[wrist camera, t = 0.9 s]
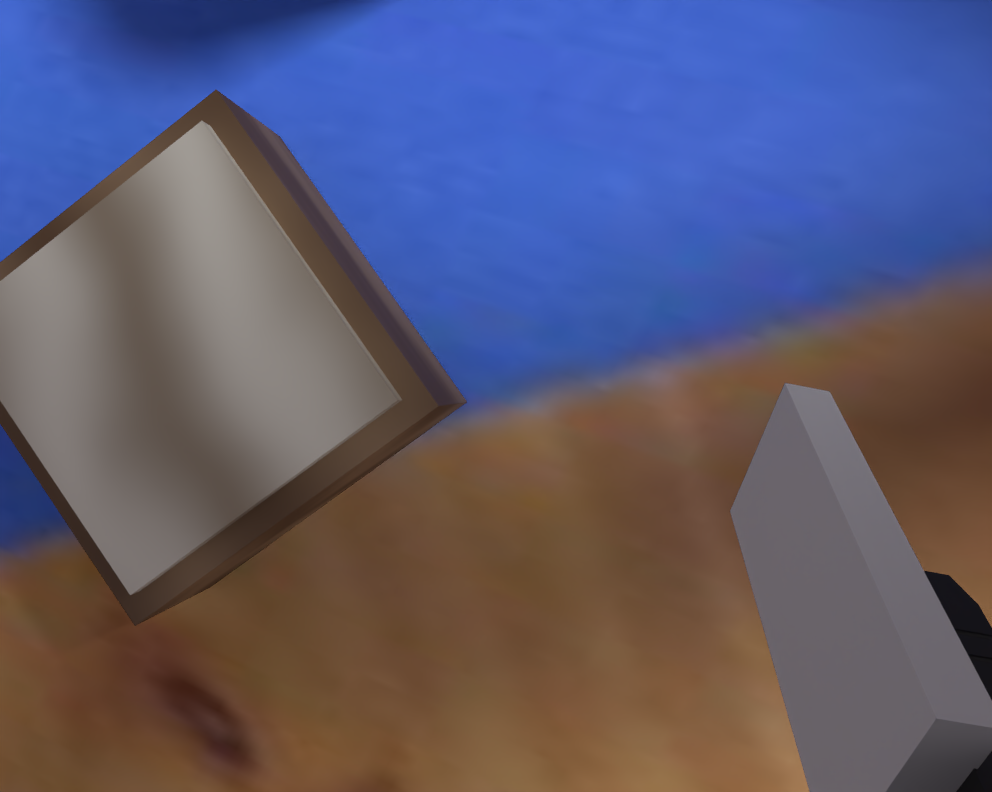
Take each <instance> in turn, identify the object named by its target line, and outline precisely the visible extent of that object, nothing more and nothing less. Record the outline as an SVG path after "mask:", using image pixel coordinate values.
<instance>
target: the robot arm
mask: <svg viewBox="0 0 992 792" xmlns="http://www.w3.org/2000/svg"><path fill="white" fill-rule="evenodd" d="M730 513H731V516H732V520H733V523H734V527H735V530H736V534H737V537H738V541H739V544H740V548H741V551H742V555H743V558H744V562H745V566H746V569H747V573H748V576H749V580H750V583H751V587H752V590H753V594H754V597H755V601H756V604H757V608H758V611H759V615H760V618H761V622H762V625H763V629H764V632H765V636H766V639H767V643H768V646H769V650H770V653H771V657H772V661H773V664H774V668H775V671H776V675H777V678H778V682H779V685H780V689H781V692H782V696H783V699H784V703H785V706H786V710H787V713H788V717H789V720H790V724H791V727H792V731H793V734H794V738H795V741H796V745H797V748H798V752H799V755H800V759H801V763H802V766H803V770H804V773H805V777H806V780H807V784H808V787H809V791H810V792H992V628H991V626H990V624H989V622H988V621H987V619H986V617H985V615H984V614H983V612H982V610H981V608H980V607H979V605H978V604H977V603H976V602H975V601H974V600H973V599H972V598H971V597H970V596H969V595H968V594H967V593H966V592H965V591H964V590H963V589H962V588H961V587H960V586H959V585H958V584H957V583H956V582H955V581H954V580H953V579H952V578H951V577H950V576H949V575H944V574H939V573H933V572H928V571H924V570H923V569H922V567H921V565H920V563H919V561H918V559H917V557H916V555H915V553H914V551H913V549H912V548H911V546H910V544H909V542H908V540H907V538H906V536H905V534H904V532H903V530H902V529H901V527H900V525H899V523H898V521H897V519H896V517H895V515H894V513H893V511H892V509H891V508H890V506H889V504H888V502H887V500H886V498H885V496H884V494H883V492H882V490H881V488H880V487H879V485H878V483H877V481H876V479H875V477H874V475H873V473H872V471H871V469H870V468H869V466H868V464H867V462H866V460H865V458H864V456H863V454H862V452H861V450H860V448H859V447H858V445H857V443H856V441H855V439H854V437H853V435H852V433H851V431H850V429H849V427H848V426H847V424H846V422H845V420H844V418H843V416H842V414H841V412H840V410H839V408H838V407H837V405H836V403H835V401H834V399H833V397H832V395H831V393H830V391H825V390H820V389H814V388H809V387H804V386H799V385H793V384H788V383H785V384H784V386H783V389H782V391H781V393H780V396H779V398H778V400H777V403H776V405H775V407H774V410H773V412H772V414H771V417H770V419H769V421H768V424H767V426H766V428H765V431H764V433H763V435H762V438H761V440H760V442H759V445H758V447H757V449H756V452H755V454H754V456H753V459H752V461H751V463H750V466H749V468H748V470H747V473H746V475H745V477H744V480H743V482H742V484H741V487H740V489H739V491H738V494H737V496H736V499H735V501H734V503H733V506H732V508H731V510H730Z"/></svg>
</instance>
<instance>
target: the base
mask: <svg viewBox="0 0 992 792" xmlns="http://www.w3.org/2000/svg"><path fill="white" fill-rule="evenodd" d="M466 402H467V401H466V400H465V398H464V397H463V396H462V394H461V393H460V391H459V390H458V388H457V387H456V386H455V384H454V383H453V381H452V380H451V379H450V377H449V376H448V374H447V373H446V371H445V370H444V369H443V367H442V366H441V364H440V363H439V362H438V360H437V359H436V357H435V356H434V354H433V353H432V352H431V350H430V349H429V347H428V346H427V345H426V343H425V342H424V340H423V339H422V337H421V336H420V335H419V333H418V332H417V330H416V329H415V328H414V326H413V325H412V323H411V322H410V320H409V319H408V318H407V316H406V315H405V313H404V312H403V310H402V309H401V308H400V306H399V305H398V303H397V302H396V301H395V299H394V298H393V296H392V295H391V293H390V292H389V291H388V289H387V288H386V286H385V285H384V284H383V282H382V281H381V279H380V278H379V276H378V275H377V274H376V272H375V271H374V269H373V268H372V267H371V265H370V264H369V262H368V261H367V259H366V258H365V257H364V255H363V254H362V252H361V251H360V250H359V248H358V247H357V245H356V244H355V242H354V241H353V240H352V238H351V237H350V235H349V234H348V233H347V231H346V230H345V228H344V227H343V225H342V224H341V223H340V221H339V220H338V218H337V217H336V216H335V214H334V213H333V211H332V210H331V208H330V207H329V206H328V204H327V203H326V201H325V200H324V199H323V197H322V196H321V194H320V193H319V191H318V190H317V189H316V187H315V186H314V184H313V183H312V182H311V180H310V179H309V177H308V176H307V174H306V173H305V172H304V170H303V169H302V167H301V166H300V165H299V163H298V162H297V160H296V159H295V157H294V156H293V155H292V153H291V152H290V150H289V149H288V148H287V146H286V145H285V143H284V142H283V140H282V139H281V138H280V136H278V135H277V134H276V133H274V132H273V131H272V130H270V129H269V128H268V127H266V126H265V125H263V124H262V123H261V122H259V121H258V120H257V119H255V118H254V117H253V116H251V115H250V114H249V113H247V112H246V111H244V110H243V109H242V108H240V107H239V106H238V105H236V104H235V103H234V102H232V101H231V100H230V99H228V98H227V97H226V96H224V95H223V94H221V93H220V92H219V91H217V90H215V91H214V92H212V93H211V94H210V95H209V96H207V97H206V98H205V99H204V100H202V101H201V102H200V103H199V104H197V105H196V106H195V107H194V108H192V109H191V110H190V111H189V112H187V113H186V114H185V115H184V116H182V117H181V118H180V119H179V120H177V121H176V122H175V123H174V124H172V125H171V126H170V127H169V128H167V129H166V130H165V131H164V132H162V133H161V134H160V135H159V136H157V137H156V138H155V139H154V140H152V141H151V142H150V143H149V144H147V145H146V146H145V147H144V148H142V149H141V150H140V151H139V152H137V153H136V154H135V155H134V156H132V157H131V158H130V159H129V160H127V161H126V162H125V163H124V164H122V165H121V166H120V167H119V168H117V169H116V170H115V171H114V172H112V173H111V174H110V175H109V176H107V177H106V178H105V179H104V180H102V181H101V182H100V183H99V184H97V185H96V186H95V187H94V188H92V189H91V190H90V191H89V192H87V193H86V194H85V195H84V196H82V197H81V198H80V199H79V200H78V201H76V202H75V203H74V204H73V205H71V206H70V207H69V208H68V209H66V210H65V211H64V212H63V213H61V214H60V215H59V216H58V217H56V218H55V219H54V220H53V221H51V222H50V223H49V224H48V225H46V226H45V227H44V228H43V229H41V230H40V231H39V232H38V233H36V234H35V235H34V236H33V237H31V238H30V239H29V240H28V241H26V242H25V243H24V244H23V245H21V246H20V247H19V248H18V249H16V250H15V251H14V252H13V253H11V254H10V255H9V256H8V257H6V258H5V259H4V260H3V261H1V262H0V424H1V426H2V427H3V429H4V430H5V432H6V433H7V435H8V436H9V438H10V439H11V441H12V442H13V444H14V445H15V447H16V448H17V450H18V451H19V453H20V454H21V456H22V457H23V459H24V460H25V462H26V463H27V465H28V466H29V468H30V469H31V471H32V472H33V474H34V475H35V477H36V478H37V480H38V481H39V483H40V484H41V486H42V487H43V489H44V490H45V492H46V493H47V495H48V496H49V498H50V499H51V501H52V502H53V504H54V505H55V507H56V508H57V510H58V511H59V513H60V514H61V516H62V517H63V519H64V520H65V522H66V523H67V525H68V526H69V528H70V529H71V531H72V532H73V534H74V535H75V537H76V538H77V540H78V541H79V543H80V544H81V546H82V547H83V549H84V550H85V552H86V553H87V555H88V556H89V558H90V559H91V561H92V562H93V564H94V565H95V567H96V568H97V570H98V571H99V573H100V574H101V576H102V577H103V579H104V580H105V582H106V583H107V585H108V586H109V588H110V589H111V591H112V592H113V594H114V595H115V597H116V598H117V600H118V601H119V603H120V604H121V606H122V607H123V609H124V610H125V612H126V613H127V615H128V616H129V618H130V619H131V621H132V622H133V624H134V625H135V626H136V625H137V624H139V623H141V622H143V621H145V620H147V619H149V618H151V617H153V616H155V615H157V614H159V613H161V612H163V611H165V610H167V609H169V608H171V607H173V606H175V605H176V604H178V603H180V602H182V601H184V600H186V599H188V598H190V597H192V596H194V595H196V594H198V593H200V592H202V591H204V590H206V589H208V588H210V587H211V586H213V585H214V584H215V583H217V582H218V581H219V580H221V579H222V578H224V577H225V576H226V575H228V574H229V573H231V572H232V571H233V570H235V569H236V568H237V567H239V566H240V565H242V564H243V563H244V562H246V561H247V560H249V559H250V558H251V557H253V556H254V555H256V554H257V553H258V552H260V551H261V550H262V549H264V548H265V547H267V546H268V545H269V544H271V543H272V542H274V541H275V540H276V539H278V538H279V537H280V536H282V535H283V534H285V533H286V532H287V531H289V530H290V529H292V528H293V527H294V526H296V525H297V524H299V523H300V522H301V521H303V520H304V519H305V518H307V517H308V516H310V515H311V514H312V513H314V512H315V511H317V510H318V509H319V508H321V507H322V506H323V505H325V504H326V503H328V502H329V501H330V500H332V499H333V498H335V497H336V496H337V495H339V494H340V493H341V492H343V491H344V490H346V489H347V488H348V487H350V486H351V485H353V484H354V483H355V482H357V481H358V480H360V479H361V478H362V477H364V476H365V475H366V474H368V473H369V472H371V471H372V470H373V469H375V468H376V467H378V466H379V465H380V464H382V463H383V462H384V461H386V460H387V459H389V458H390V457H391V456H393V455H394V454H396V453H397V452H398V451H400V450H401V449H403V448H404V447H405V446H407V445H408V444H409V443H411V442H412V441H414V440H415V439H416V438H418V437H419V436H421V435H422V434H423V433H425V432H426V431H427V430H429V429H430V428H432V427H433V426H434V425H436V424H437V423H439V422H440V421H441V420H443V419H444V418H446V417H447V416H448V415H450V414H451V413H452V412H454V411H455V410H457V409H458V408H459V407H461V406H462V405H464V404H465V403H466Z"/></svg>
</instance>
